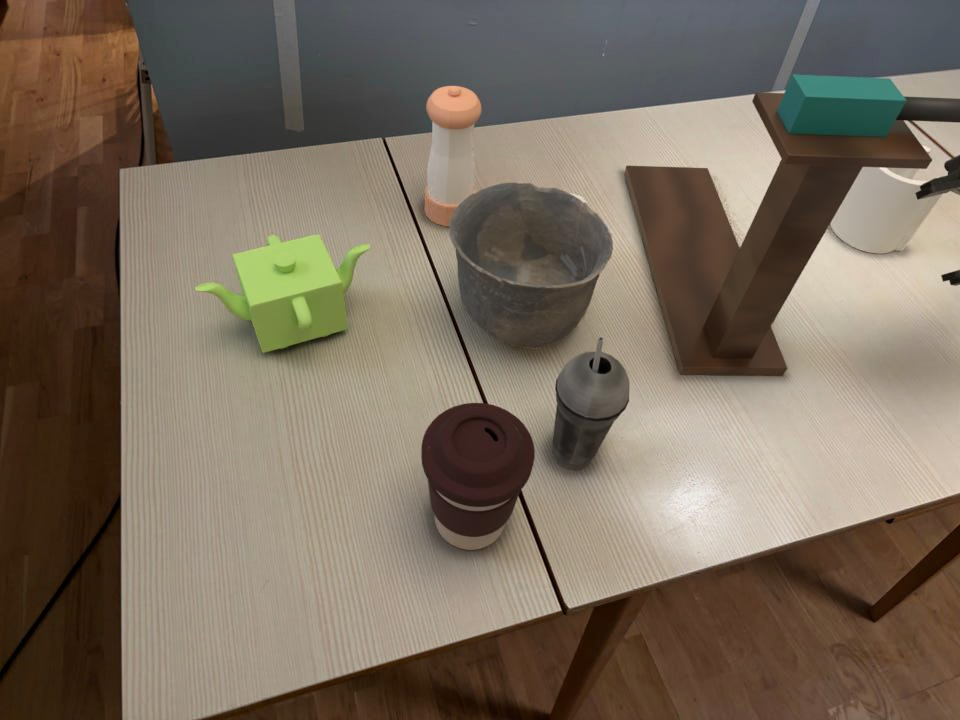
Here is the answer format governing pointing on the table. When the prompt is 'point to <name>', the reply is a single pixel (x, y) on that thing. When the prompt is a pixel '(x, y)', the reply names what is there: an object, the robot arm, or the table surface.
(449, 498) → the coffee cup
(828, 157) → the headphone stand
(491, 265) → the bowl
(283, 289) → the teapot
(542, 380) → the table surface
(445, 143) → the pepper shaker
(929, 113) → the teal block with handle
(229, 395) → the table surface
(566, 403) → the beverage cup
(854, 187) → the white rounded piece
